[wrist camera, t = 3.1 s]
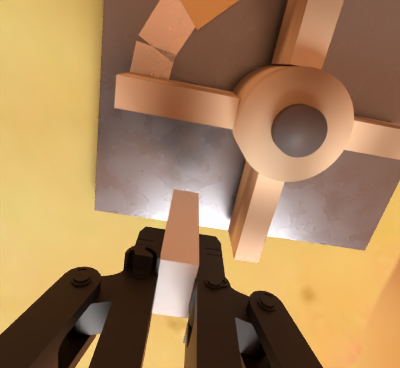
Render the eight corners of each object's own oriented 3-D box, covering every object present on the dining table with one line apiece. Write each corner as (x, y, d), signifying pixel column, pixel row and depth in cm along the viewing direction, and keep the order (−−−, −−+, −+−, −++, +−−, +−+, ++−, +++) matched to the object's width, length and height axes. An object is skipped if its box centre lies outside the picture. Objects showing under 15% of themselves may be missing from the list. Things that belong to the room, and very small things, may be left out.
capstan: (120, 210, 21) (89, 274, 15) (148, -116, 14) (111, -265, 8) (346, 244, 23) (405, 315, 16) (473, -33, 16) (667, -98, 9)
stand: (100, 201, 23) (93, 212, 21) (117, -104, 16) (107, -124, 14) (355, 240, 25) (366, 252, 23) (475, -15, 18) (504, -23, 16)
